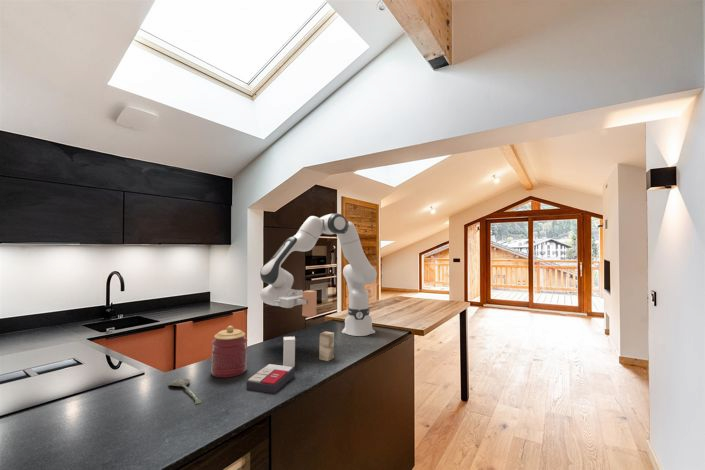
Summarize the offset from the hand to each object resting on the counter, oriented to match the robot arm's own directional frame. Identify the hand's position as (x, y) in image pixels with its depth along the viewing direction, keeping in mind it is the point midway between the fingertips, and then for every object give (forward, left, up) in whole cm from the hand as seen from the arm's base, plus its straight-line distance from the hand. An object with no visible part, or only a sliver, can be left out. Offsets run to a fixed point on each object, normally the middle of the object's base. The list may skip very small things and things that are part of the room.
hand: (311, 301), depth 150 cm
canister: (+19, -30, -24) cm, 43 cm away
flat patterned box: (+30, -12, -24) cm, 40 cm away
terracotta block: (-1, -1, -6) cm, 7 cm away
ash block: (+5, +7, -24) cm, 26 cm away
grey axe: (+37, -38, -25) cm, 59 cm away
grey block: (+13, -8, -24) cm, 28 cm away
